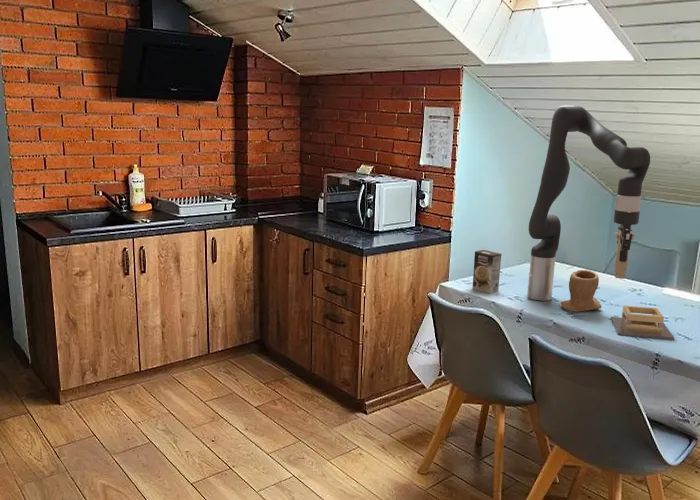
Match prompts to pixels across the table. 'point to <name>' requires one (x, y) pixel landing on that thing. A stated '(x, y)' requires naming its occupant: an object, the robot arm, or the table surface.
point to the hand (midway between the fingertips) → (621, 259)
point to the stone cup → (582, 291)
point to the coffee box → (486, 271)
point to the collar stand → (641, 323)
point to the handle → (619, 266)
